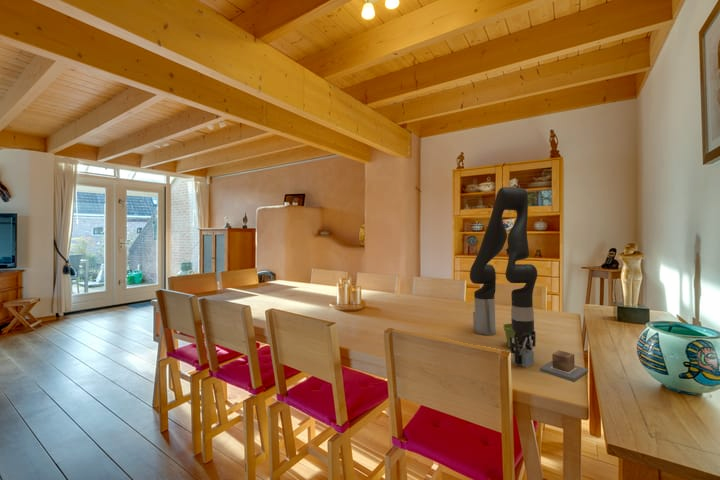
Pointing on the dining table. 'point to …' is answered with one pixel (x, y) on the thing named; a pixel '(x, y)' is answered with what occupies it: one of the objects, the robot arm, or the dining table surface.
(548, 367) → the plate
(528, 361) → the blue block
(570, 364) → the walnut block
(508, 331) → the plant pot
